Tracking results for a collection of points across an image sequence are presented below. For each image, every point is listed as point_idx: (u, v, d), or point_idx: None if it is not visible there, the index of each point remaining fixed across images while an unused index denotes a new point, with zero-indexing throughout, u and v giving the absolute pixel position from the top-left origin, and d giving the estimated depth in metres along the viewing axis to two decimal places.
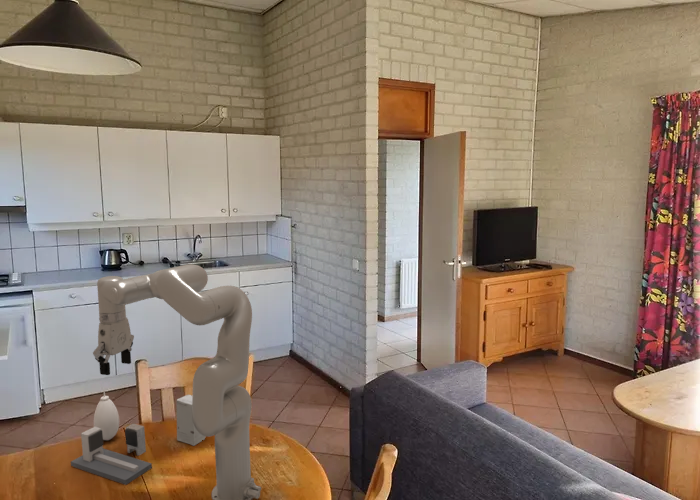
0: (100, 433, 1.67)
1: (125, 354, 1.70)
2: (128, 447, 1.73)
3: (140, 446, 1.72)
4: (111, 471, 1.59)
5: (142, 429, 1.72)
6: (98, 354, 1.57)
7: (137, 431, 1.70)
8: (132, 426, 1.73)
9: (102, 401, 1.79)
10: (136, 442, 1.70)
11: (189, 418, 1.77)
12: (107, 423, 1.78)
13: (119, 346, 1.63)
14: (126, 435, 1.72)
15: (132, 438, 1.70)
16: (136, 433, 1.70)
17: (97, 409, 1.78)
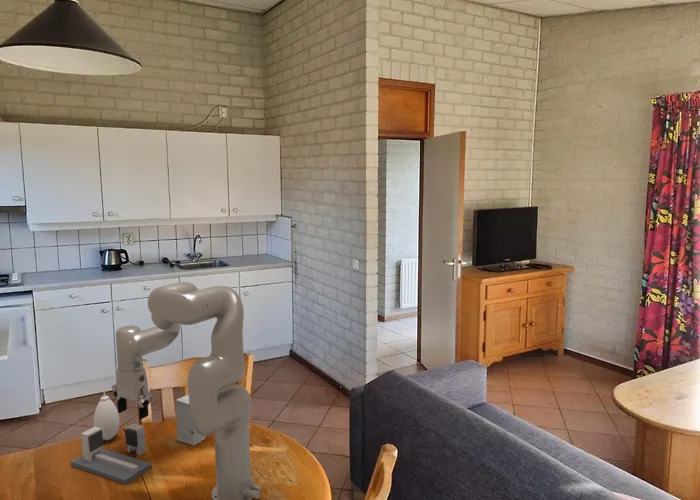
0: (100, 433, 1.67)
1: (123, 402, 1.74)
2: (128, 447, 1.73)
3: (140, 446, 1.72)
4: (111, 471, 1.59)
5: (142, 429, 1.72)
6: None
7: (137, 431, 1.70)
8: (132, 426, 1.73)
9: (102, 401, 1.79)
10: (136, 442, 1.70)
11: (189, 418, 1.77)
12: (107, 423, 1.78)
13: None
14: (126, 435, 1.72)
15: (132, 438, 1.70)
16: (136, 433, 1.70)
17: (97, 409, 1.78)
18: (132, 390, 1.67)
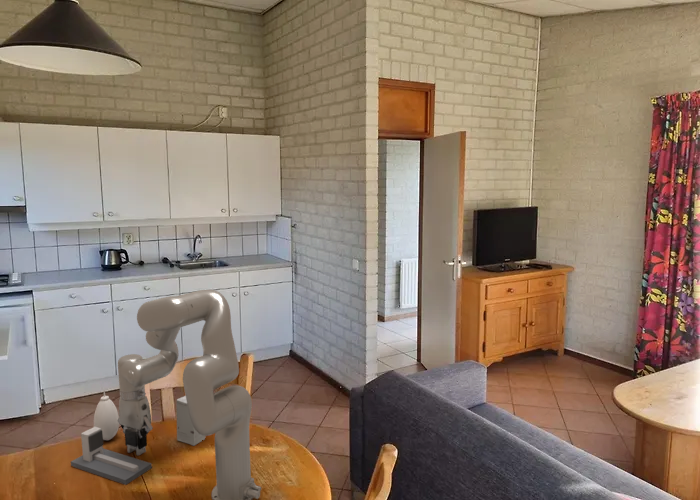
0: (100, 433, 1.67)
1: None
2: (128, 447, 1.73)
3: None
4: (111, 471, 1.59)
5: (142, 429, 1.72)
6: None
7: None
8: None
9: (102, 401, 1.79)
10: (136, 442, 1.70)
11: (189, 418, 1.77)
12: (108, 423, 1.78)
13: None
14: (126, 435, 1.72)
15: (132, 438, 1.70)
16: (136, 433, 1.70)
17: (97, 409, 1.78)
18: (135, 419, 1.68)
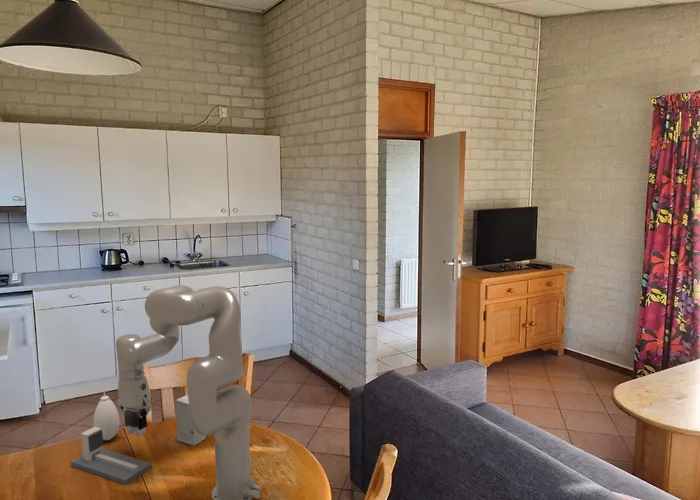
0: (100, 433, 1.67)
1: None
2: (128, 428, 1.71)
3: None
4: (111, 471, 1.59)
5: (142, 410, 1.71)
6: None
7: None
8: None
9: (102, 401, 1.79)
10: (136, 423, 1.69)
11: (189, 418, 1.77)
12: (107, 423, 1.78)
13: None
14: (126, 416, 1.70)
15: (132, 419, 1.69)
16: (136, 413, 1.69)
17: (97, 409, 1.78)
18: (134, 399, 1.67)
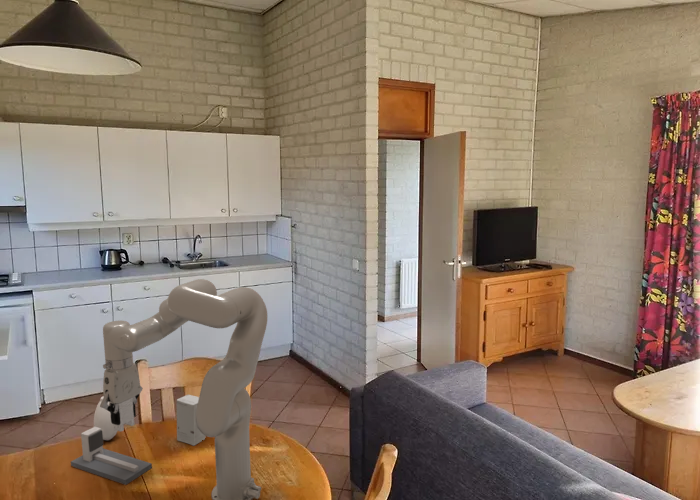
0: (100, 433, 1.67)
1: None
2: None
3: None
4: (111, 471, 1.59)
5: None
6: (105, 406, 1.53)
7: None
8: None
9: None
10: None
11: (189, 418, 1.77)
12: (107, 423, 1.78)
13: (124, 394, 1.56)
14: None
15: None
16: None
17: (97, 409, 1.78)
18: None
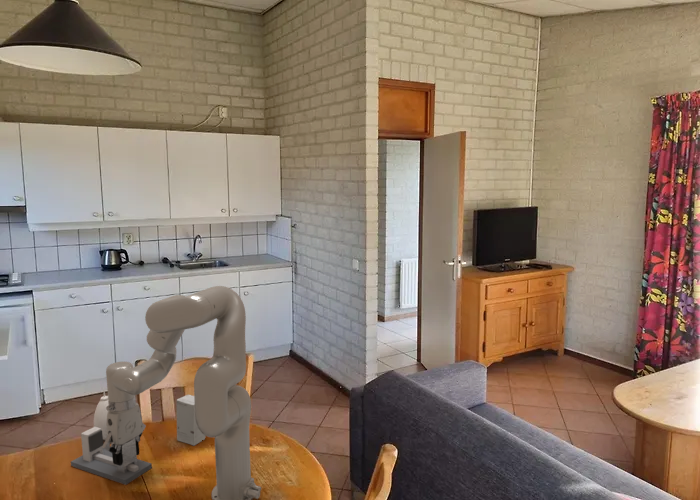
0: (100, 433, 1.67)
1: None
2: None
3: None
4: (111, 471, 1.59)
5: None
6: (107, 447, 1.54)
7: (115, 445, 1.59)
8: None
9: (102, 401, 1.79)
10: None
11: (189, 418, 1.77)
12: None
13: (127, 435, 1.57)
14: None
15: None
16: (115, 446, 1.59)
17: (97, 409, 1.78)
18: None
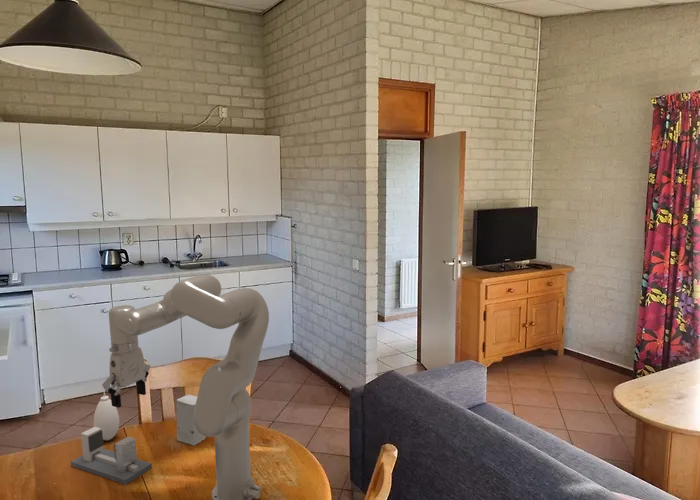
0: (100, 433, 1.67)
1: (140, 385, 1.65)
2: None
3: (118, 463, 1.59)
4: (111, 471, 1.59)
5: (120, 447, 1.58)
6: (107, 386, 1.53)
7: (115, 445, 1.59)
8: (127, 439, 1.61)
9: (102, 401, 1.79)
10: (115, 455, 1.59)
11: (189, 418, 1.77)
12: (107, 423, 1.78)
13: (130, 378, 1.58)
14: None
15: None
16: (115, 446, 1.59)
17: (97, 409, 1.78)
18: None
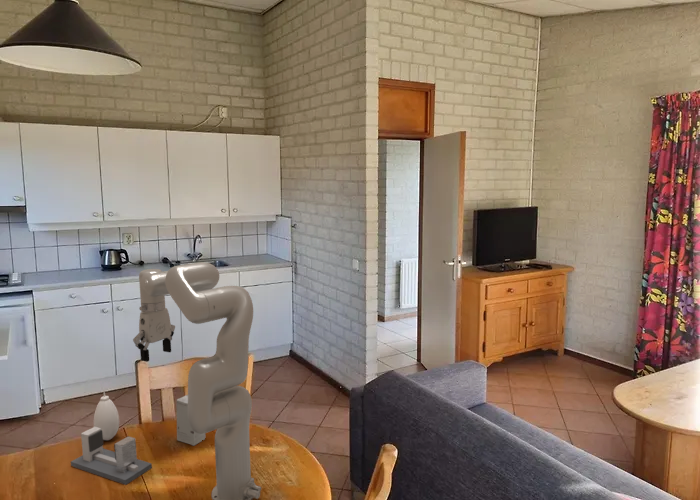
0: (100, 433, 1.67)
1: (166, 343, 1.80)
2: None
3: (118, 463, 1.59)
4: (111, 471, 1.59)
5: (120, 447, 1.58)
6: (137, 341, 1.68)
7: (115, 445, 1.59)
8: (127, 439, 1.61)
9: (102, 401, 1.79)
10: (115, 455, 1.59)
11: None
12: (107, 423, 1.78)
13: (158, 335, 1.73)
14: None
15: None
16: (115, 446, 1.59)
17: (97, 409, 1.78)
18: None
